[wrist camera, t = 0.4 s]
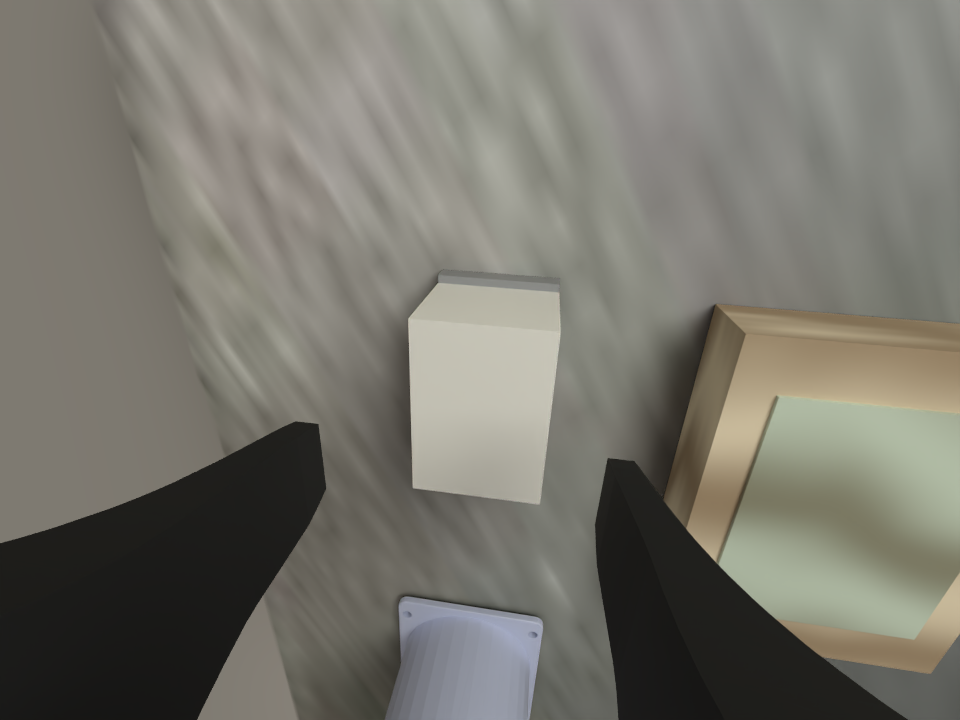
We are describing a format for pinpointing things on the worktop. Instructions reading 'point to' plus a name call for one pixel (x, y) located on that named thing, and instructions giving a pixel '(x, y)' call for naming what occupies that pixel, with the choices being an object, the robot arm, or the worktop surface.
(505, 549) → the worktop surface
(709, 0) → the worktop surface
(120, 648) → the robot arm
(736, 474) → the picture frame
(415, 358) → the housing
